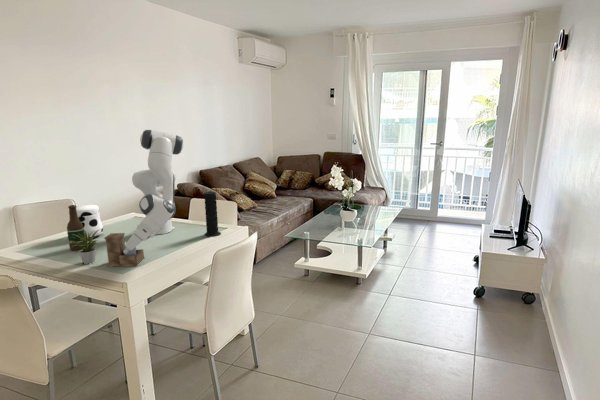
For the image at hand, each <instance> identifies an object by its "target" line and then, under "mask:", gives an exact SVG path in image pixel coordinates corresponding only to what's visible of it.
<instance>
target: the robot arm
mask: <svg viewBox="0 0 600 400" xmlns="http://www.w3.org/2000/svg"><path fill="white" fill-rule="evenodd" d="M139 142H140V147H142V148H143V149H145V150H149V151H148V157H147V166H148V167H147V168H148V169H143V170H138V171H136V172H135V171H134V173H133V175H131V182H132V185H133V186H134V187H135V188H136V189H138V190H140V192H142V193H143V195H144V196H143V197H142V198H141V199H140V201H139V205H138V206H139V209H140V211H141V212H142V214H144V215H145V217H144V218H143V219H142V220H141V221H140V222H139V224H137V226H136V229H134V231H133V234H132V235H131V236H130V238H129V239H128V240H127V242H125V247H126V248H125V250H124V251H123V252H124V253H125V254H126V253H127V252H128V251H129V250H130V251H131V250H133V249H134V248H135V247H136V248H137V246H139V245H140V244H141V243H142V242H145V241H146V240H148V239H153V237H154V236H156V235H164V234H167V233H170V232H171V231H174V230H175V226H173V224H172V223H173V222H172V218H174V216H175V214H176V212H177V211H176V210H177V209H176V203H175V182H176V179H177V175H176V172H175V171H174V169H172V157H173V155H180V153H181V152H182V151H183V149H184V147H185V146H184V145H185V144H184V139H183V137H181V136H179V135H177V134H176V135H175V134H173V133H169V132H164V131H158V130H152V129H144V130H143V132H142V133H141V135H140V137H139ZM161 187H162V193H161V192H159V191H157V188H161Z"/></svg>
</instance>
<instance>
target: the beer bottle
mask: <svg viewBox="0 0 600 400" xmlns="http://www.w3.org/2000/svg"><path fill="white" fill-rule="evenodd" d="M76 206H77V205H75V204H71V205H68V207H67V208H68V214H69V221H68V222H67V225H66V231H67V238H68V240H67V241H68V246H69V250H70V251H71V252H72V251H73V252H76V251H78V252H79V251H80V250H82V248H81V247H79V246H73V245H76V244H74V243H72V242H69V241H75V242H79V243H81V244H83V243H82V242H83V241H81V240H80V239H79V238H78V237H77V236H76V235H78V236H80V237H81V238H83V237H84V227H83V224H82V222H81V221H80V220H79V219H78V215H77V210H76ZM78 233H79V234H78ZM72 234H75V235H72ZM80 234H81V235H82V236H83V237H82V236H81V235H80ZM73 237H74V238H73ZM83 245H84V244H83ZM72 246H73V247H72Z"/></svg>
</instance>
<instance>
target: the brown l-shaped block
mask: <svg viewBox="0 0 600 400" xmlns="http://www.w3.org/2000/svg"><path fill="white" fill-rule="evenodd" d="M104 240H105V244H106V252H107V261H108V262H107V264H106V267H107V266H121V267H138V266H139V265H140V264H141V263H142V262H143V261H144V260H145V255H144V254H145V253H144V249H142V248H141V249H136V253H137V254H136V255H125V253H124V252H123V251H124V246H125V244H126V242H125V232H118V233H117V232H116V233H114V232H113V233H112V232H111V233H109V234H108V235H106V236H105V237H104ZM143 259H144V260H143ZM142 260H143V261H142ZM141 261H142V262H141ZM140 262H141V263H140ZM139 263H140V264H139ZM138 264H139V265H138ZM137 265H138V266H137Z"/></svg>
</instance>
